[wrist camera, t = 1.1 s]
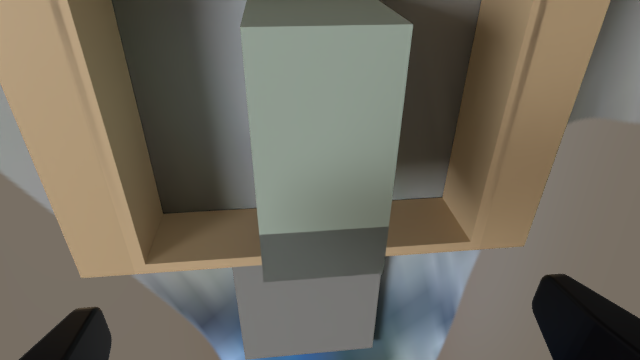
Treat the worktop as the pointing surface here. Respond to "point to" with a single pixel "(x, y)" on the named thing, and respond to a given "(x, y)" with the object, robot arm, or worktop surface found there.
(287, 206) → the capped box
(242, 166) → the worktop surface
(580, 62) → the tan rectangular open frame
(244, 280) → the mat
